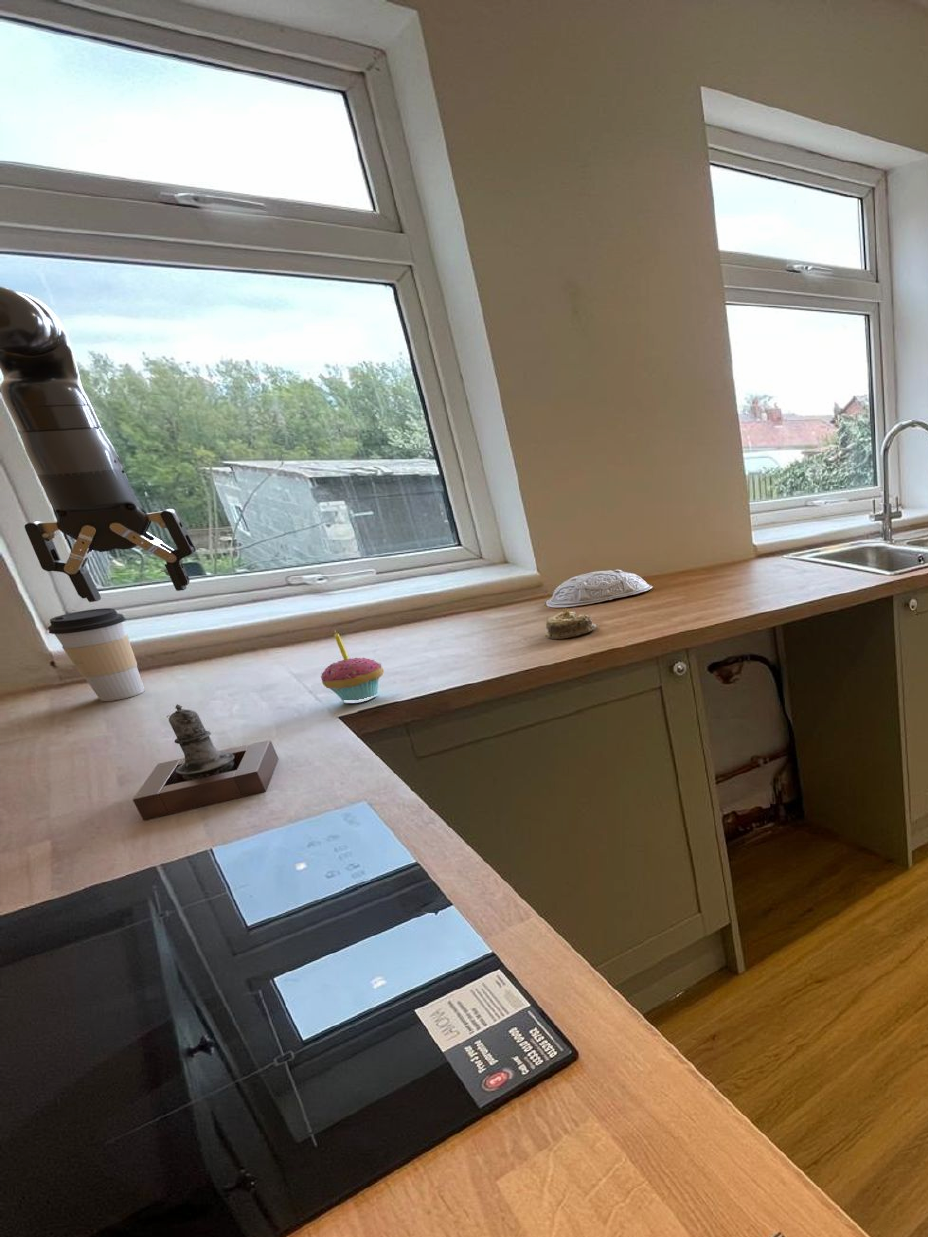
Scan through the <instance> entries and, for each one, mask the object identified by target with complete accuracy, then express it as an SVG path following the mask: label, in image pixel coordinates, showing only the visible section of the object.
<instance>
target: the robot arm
mask: <svg viewBox="0 0 928 1237" xmlns="http://www.w3.org/2000/svg"><path fill="white" fill-rule="evenodd" d="M0 371H1V373H2V377H3V380H2V382H1V384H0V393H1V397H2V400H3V402H4V404H5V406H6V408H7V411H8V413H9V414H10V416H11V418H12V420H13V422H14V425H15V427H16V428H17V431H18V432H19V435H20V438H21V441H22V444H23V447H24V450H25V452H26V455H27V457H28V459H29V462H30V463H31V465H32V468H33V469H34V471H35V473H36V475H37V477H38V480H39V481H40V484H41V485H42V487H43V489H44V491H45V494H46V496H47V497H48V499H49V502H50V504H51V506H52V508H53V511H55V514H56V516H57V520H56V521H41V520H35V521H31V522H28V523H26V524H25V525H24V530H25V532H26V535H27V537H28V540H29V541H30V544H31V547H32V549H33V551H34V553H35V556H36V558H37V560H38V563H39V566H40V567H41V569H42V570H44V571H46V572H57V573H63V574H65V575H67V576H68V577H69V579H70V582H71V583H72V585H73V587H74V589H75V591H76V593H77V595H78V596H79V597H80V598H81V599H86V600H87V601H88V602H89V603H95V602H99V601H100V600H101V599H102V597H101V594H100V593H99V592H100V591H99V590H98V588H97V586H96V583H95V582H94V580H93V578H92V576H91V574H90V572H89V570H85V567H86V565H87V563H88V562H89V560H90V557H91V556H92V555H93V553H94V552H99V553H104V552H109V551H113V550H131V549H134V548H136V547H140V548H141V549H143V550H145V551H146V552H148V553H151V554H153V555H155V556H157V557H158V558H160V559H162V560H163V561H165V563H164V567H165V569H166V572H167V574H168V576H169V578H170V580H171V582H172V585H173V587H174V589H175V591H176V592H182V591H185V590H186V589H187V586H188V585H189V584H190V581H191V579H190V577H189V575H188V573H187V570H186V568H185V566H184V564H183V559H184V558H186V557H189V556H191V555H193V554H194V553H196V551H197V548H196V546H195V544H194V542H193V540H192V538H191V536H190V535H189V532H188V530H187V529H186V527H185V525H184V522H183V521H182V519H181V516H180V515H179V513H178V511H176V509H173V508H167V509H164V510H161V511H154V512H146V511H145V510H144V509H143V508H142V506H141V505H140V502H139V500H138V498H137V496H136V493H135V491H134V490H133V487H132V485H131V483H130V480H129V478H128V476H127V474H126V472H125V469H124V467H123V463H122V461H121V458H120V456H119V455H118V454H117V451H116V449H115V447H114V445H113V444H112V442H111V441H110V439H109V438H108V436H107V435H106V432H105V431H104V429H103V428H102V425H101V423H100V421H99V418H98V416H97V414H96V412H95V409H94V408H93V405H92V403H91V401H90V399H89V397H88V395H87V394H86V392H85V390H84V388H83V386H82V381H81V377H80V373H79V369H78V365H77V361H76V358H75V354H74V351H73V348H72V344H71V342H70V339H69V337H68V334H67V332H66V330H65V328H64V326H63V324H62V322H61V321H60V319H59V317H58V316H57V315H56V314H55V313H54V311H52V309H51V308H50V307H48V306H47V305H46V304H45V303H43V302H42V301H41V300H39V299H38V298H36V297H34V296H32V295H30V294H27V293H24V292H21V291H18V290H14V289H10V288H8V287H4V286H0ZM152 522H154V523H156V524H157V525H158V526H159V527H160V528H163V529H167V531H168V533H169V534H170V536H171V539H172V541H173V542H174V545H175V546H176V549H174V548H172V547H170V546H169V545H167V544H165V543H164V541H163V540H161V539H160V538H158V537H156V536H154V535H153V534H151V533H150V532H148V531H149V527H150V526H151V523H152ZM58 531H60V532H61V533H63V534H64V535H66V536H67V537H69V538H71V539H73V540H74V541H75V542H74V544H73V547H72V548H71V550H70V552H69V556H68V558H67V560H62V559H61V557H60V555H59V553H58V550H57V547H56V545H55V543H54V541H53V539H56V538H57V537H58V534H57V532H58Z"/></svg>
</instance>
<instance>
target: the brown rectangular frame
mask: <svg viewBox="0 0 928 1237" xmlns="http://www.w3.org/2000/svg"><path fill="white" fill-rule="evenodd" d="M218 751H219V752H220V753H231V754H233V755H234V756H235V757H234V759H233V761H234V769H233V771H230V772H225V773H221V774H216V775H212V776H207V777H203V778H198V779H194V780H189V781H186V780H185V779H184V778H183V777H182V776H181V774H177V773H176V769H177V768H178V767H179V766H180V765H182V764H184V763H185V757H183V758H179V759H173V760H169V761H164V762H159V763H157V764H156V765H155V767H154V769H153V770H152V771H151V773H150V774H149V775H148V776H147V779H146V780H145V781H144V783H143V784H142V785H141V787H140V788H139V790H138V791H137V793H136V794H135V795H134V797H133V798H132V802H133V804H134V806H135V807H136V810H137V811H138V813H139V816H141V819H142V820H143V821H147V820H151V819H155V818H159V817H163V816H169V815H172V814H176V813H180V812H184V811H185V812H186V811H190V810H193V809H197V808H201V807H202V808H203V807H206V806H210V805H211V806H212V805H214V804H215V805H216V804H218V803H219V804H220V803H223V802H227V801H231V800H236V799H239V798H244V797H249V796H252V795H258V794H261V793H265V792H267V789H268V787H269V784H270V781H271V779H272V776H273V775H274V771H275V768H276V766H277V763H278V761H279V756H278V753H277V751H276V750H275V747H274V745H273V742H272V740H271V739H268V740H263V741H259V742H253V743H248V744H244V745H240V746H236V747H231V748H226V749H221V750H218Z"/></svg>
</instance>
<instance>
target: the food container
mask: <svg viewBox="0 0 928 1237" xmlns="http://www.w3.org/2000/svg"><path fill="white" fill-rule="evenodd" d="M651 589H654V588H653V585H651V584H648V582H647V581H645V580H644V579H643V578H642V577H641V576H639V575H637V574H636V573H633V572H627V571H623V570H621V569H614V570H597V571H593V572H588V573H583V574H579V575H576V576H573V577H570V578H568V579H567V580H565V581H563V582H562V583H561V584H560V585H559V586H557V587H556V588H555V589H554V591H553V594H552V596H551V598H550V599H548V600H546V602H545V603H546V604H545V605H546V607H548V608H554V609H559V608H562V609H563V608H570V607H571V608H572V607H579V606H585V605H593V604H595V603H601V602H605V601H612V600H614V599H619V598H624V597H628V596H632V595H633V596H634V595H638V594H641V593H644V592H647V591H649V590H651Z"/></svg>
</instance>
